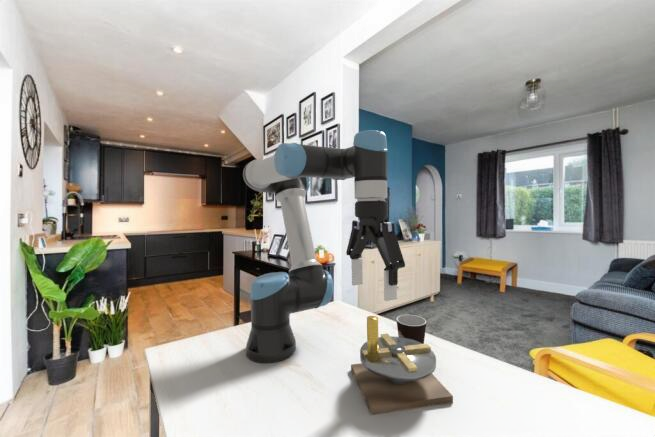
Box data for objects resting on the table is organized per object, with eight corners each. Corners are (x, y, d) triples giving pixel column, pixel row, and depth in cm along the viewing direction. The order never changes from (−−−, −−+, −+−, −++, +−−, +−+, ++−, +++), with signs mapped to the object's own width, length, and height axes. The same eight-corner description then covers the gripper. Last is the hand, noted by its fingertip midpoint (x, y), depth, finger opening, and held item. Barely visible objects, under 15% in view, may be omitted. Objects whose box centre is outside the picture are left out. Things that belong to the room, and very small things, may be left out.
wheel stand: (351, 369, 77) (350, 348, 77) (416, 362, 81) (416, 341, 80) (371, 414, 61) (371, 386, 60) (452, 402, 64) (452, 376, 64)
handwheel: (352, 345, 78) (351, 303, 77) (413, 338, 81) (413, 298, 80) (374, 385, 60) (373, 331, 60) (452, 375, 63) (452, 324, 63)
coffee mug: (428, 361, 81) (428, 327, 80) (397, 359, 83) (396, 325, 82) (423, 342, 92) (423, 312, 92) (395, 340, 94) (395, 310, 94)
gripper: (422, 198, 56) (423, 304, 57) (357, 201, 79) (358, 277, 80) (391, 198, 53) (393, 311, 54) (332, 201, 76) (334, 281, 77)
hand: (372, 291), depth 67 cm, fingers open, 13 cm apart
